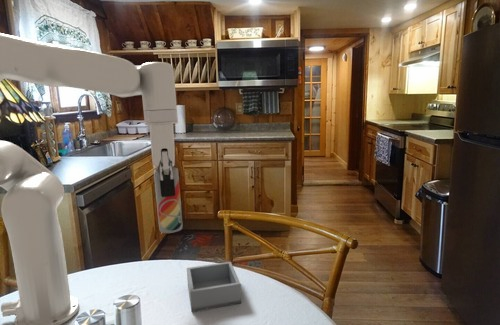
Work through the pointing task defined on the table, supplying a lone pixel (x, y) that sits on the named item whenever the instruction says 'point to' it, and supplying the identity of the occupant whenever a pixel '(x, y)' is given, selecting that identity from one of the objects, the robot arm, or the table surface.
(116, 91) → the robot arm
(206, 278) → the box
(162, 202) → the lotion bottle
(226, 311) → the table surface
